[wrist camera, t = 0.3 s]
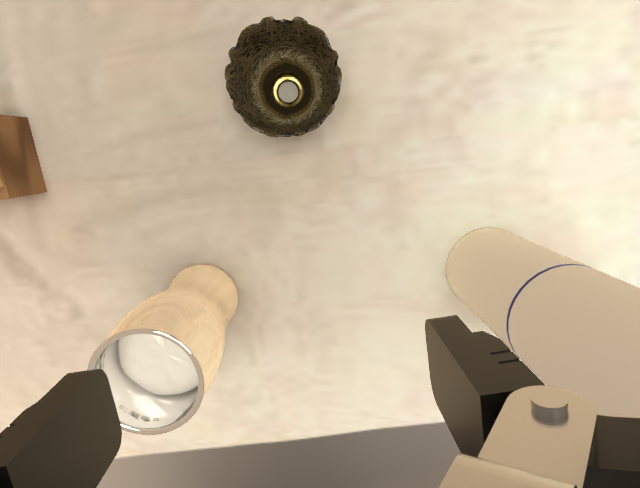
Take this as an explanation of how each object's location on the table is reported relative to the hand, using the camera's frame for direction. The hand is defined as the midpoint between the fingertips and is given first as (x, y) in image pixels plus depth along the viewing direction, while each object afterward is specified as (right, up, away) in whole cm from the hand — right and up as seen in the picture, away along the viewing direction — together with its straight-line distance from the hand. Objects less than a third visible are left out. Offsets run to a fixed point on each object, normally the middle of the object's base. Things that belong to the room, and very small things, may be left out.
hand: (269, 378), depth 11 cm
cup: (-1, +16, +26) cm, 30 cm away
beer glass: (-9, -1, +29) cm, 31 cm away
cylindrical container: (+16, +1, +29) cm, 33 cm away
